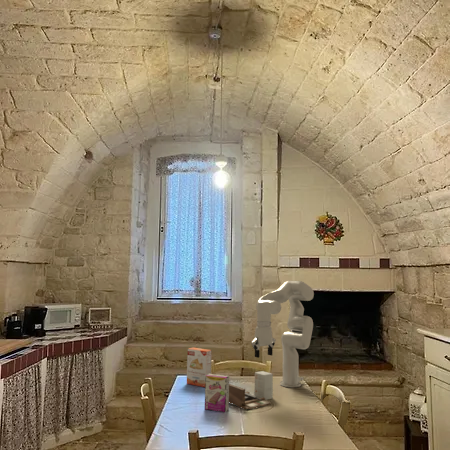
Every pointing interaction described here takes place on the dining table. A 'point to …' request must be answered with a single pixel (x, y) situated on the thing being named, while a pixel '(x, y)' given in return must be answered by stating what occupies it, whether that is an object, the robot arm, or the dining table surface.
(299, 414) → the dining table surface
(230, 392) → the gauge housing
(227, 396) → the candy bar box
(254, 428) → the dining table surface
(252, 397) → the gauge carriage
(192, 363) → the cracker box
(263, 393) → the small box
